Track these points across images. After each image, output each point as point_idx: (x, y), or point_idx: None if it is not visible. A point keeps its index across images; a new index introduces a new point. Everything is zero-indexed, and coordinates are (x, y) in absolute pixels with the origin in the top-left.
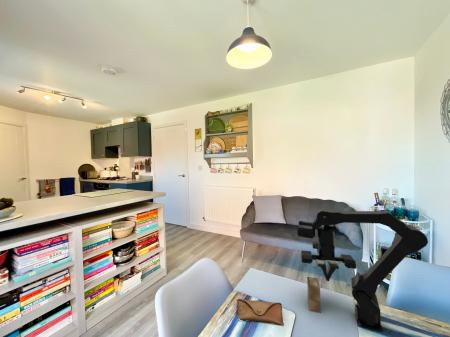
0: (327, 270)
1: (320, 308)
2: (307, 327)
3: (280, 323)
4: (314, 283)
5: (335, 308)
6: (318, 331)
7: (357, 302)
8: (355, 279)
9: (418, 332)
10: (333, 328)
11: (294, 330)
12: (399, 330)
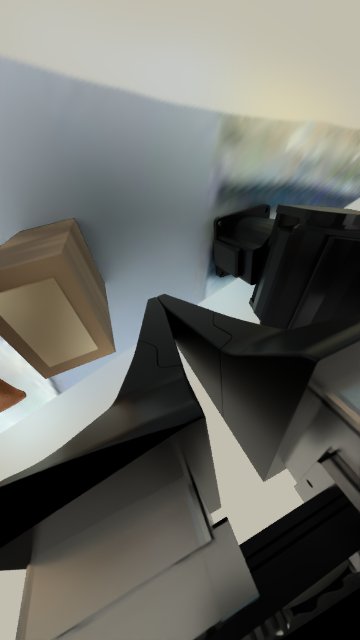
0: (192, 339)
1: (105, 291)
2: None
3: (15, 403)
4: (72, 346)
5: (150, 224)
6: (117, 353)
7: (250, 263)
8: (347, 300)
9: None
10: None
11: (62, 387)
12: None
